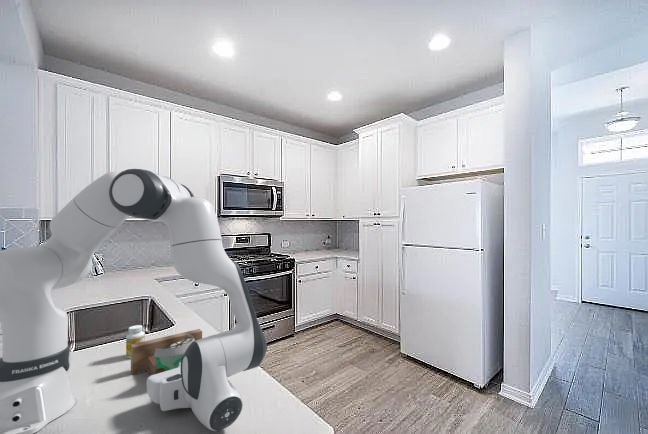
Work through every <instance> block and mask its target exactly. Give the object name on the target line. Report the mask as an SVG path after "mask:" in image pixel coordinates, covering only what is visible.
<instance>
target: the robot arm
mask: <svg viewBox="0 0 648 434" xmlns="http://www.w3.org/2000/svg"><path fill="white" fill-rule="evenodd" d="M129 217H132V218H136V219H142V220H146V221H150V222H160V223H161V222H162V223H163V224H165V226H166V227H167V229H168V233H169V241H170V253H171V257H172V258H171V259H172V263H173V264H172V265H173V267H174V269H175V271H176V272H177V273H178V274H179V275H180V277H183V278H185V279H186V280H188V281H190V282H194V283H198V284H203V285H204V284H205V285H210V286H214V287H218V288H219V289H222V290H223V291H224V292H225V293H226V295H227V297H228V299H229V302H230V305H231V309H232V312H233V315H234V318H235V322H236V326H235V327H234V328H232V329H230V330H226V331H222V332H220V333H217V334H213V335H210V336H209V335H208V336H205V337H202V339H199V340H196V341H193V342H192V343H191V344H190V345H189V346H188V348H187V349H186V351H185V353H184V355H183V357H182V360H181V363H178V368H174V369H171V370H168V371H164V372H161V373H158V374H155V375H149V376H148V377H147V378H146V383H145V384H146V385H145V386H146V393H147V395H148V397H149V398H150V400H151V401H152V402H153V403H154V404H159V407H160V410H161V412H162V411H163V412H167V411H171V410H177V409H178V410H179V409H187V408H188V409H190V408H191V410H192V413H193V415H194V416H195V417H196V419H197V420H198V421H199V422H200V423H201V424H202V425H203V426H204V427H205V428H207V430H210V431H213V432H221V431H222V430H224V429H227V428H229V427H230V426H231V425H232V424H234V423H235V422H236V420H237V419H238V418H239V416H240V415H241V413H242V410H243V399H242V397H241V395H240V393H239V392H238V390H237V389H236V388H235V387H234V385H233V384H232V383H231V382H230V380H228V378H229V377H232V376H234V375H237V374H239V373H241V372H246V371H248V370H252V369H256V368H258V367H259V366H260V365H261V363H263V361H264V358H265V356H266V355H267V354H266V353H267V350H268V344H267V343H268V341H267V339H266V336H265V333H264V331H263V329H262V327H261V324H260V323H259V321H258V317H257V314H256V311H255V308H254V305H253V302H252V298H251V296H250V292H249V288H248V285H247V283H246V280H245V277H244V274H243V271H242V270H241V267H240V265H239V264H238V263H237V262H236V261H234V260H232V259H231V258H230V257H229V256H228V254H227V252H226V251H225V249H224V245H223V241H222V240H223V239H222V233H221V228H220V224H219V220H218V217H217V213H216V211H215V208H214V205H213V204H212V202H210V201H209V200H207V199H206V198H203V197H199V196H198V197H197V196H195V195H194V193H193V192H192V190H190V188H188V187H187V185H184V184H183V183H180V182H178V181H177V180H174V179H173V178H170V177H168V176H164V175H160V174H157V173H154V172H152V171H151V170H146V169H141V168H129V169H125V170H122V171H109V172H107V173H104V174H103V175H102V176H100V177H98V178H96V179H95V180H93V181H92V182H91V183H90V184H88V185H87V186H85V187H84V188H83V189H82V190H80V192H78V193H77V194H76V195H75V196H74V197H73V198H72V199H71V200H70V201H69V202H67V204H65V206H64V207H63V208H61V210H59V211H58V212H57V213H56V214H55V215H54V217H52V218H51V220H50V221H49V230H50V232H51V234H52V235H51V236H50V237H49V239H48V240H47V241H45V242H44V243H42V244H40V245H37V246H29V247H27V246H26V247H16V248H6V249H1V250H0V326H1V338H2V339H1V341H2V348H1V349H2V353H1V354H2V357H1V356H0V434H35V433H37V432H39V431H41V429H43V428H44V427H45V426H47V424H48V423H51V422H52V421H54V420H56V419H58V418H59V417H61V416H62V415H64V414H65V413H67V412H68V411H69V410H70V409H71V408H72V407H74V405H75V403H76V398H75V395H74V393H73V389H72V386H71V385H72V384H71V380H70V373H69V369H70V366H71V356H72V355H71V354H72V353H71V346H70V344H69V342H68V341H69V315H68V313H67V312H66V311H65V310H64V309H61V308H59V307H56V305H55V303H54V300H53V299H52V294H51V291H54V290H58V289H61V288H65V287H70V286H71V285H74V284H75V283H78V282H79V281H81V280H83V279H85V278H86V277H87V276H88V275H89V274H90V273H91V271H92V268H93V259H92V258H93V256H94V255H95V253H96V251H97V250H98V249H99V247H100V246H102V244H104V242H105V241H106V240H107V239H108V238H109V237H110V236H112V234H113V233H115V231H116V230H118V228H119V227H121V226H122V225H123V223H124V222H125V221H126V220H127V219H128V218H129Z"/></svg>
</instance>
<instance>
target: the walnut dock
mask: <svg viewBox="0 0 648 434" xmlns="http://www.w3.org/2000/svg"><path fill="white" fill-rule="evenodd" d="M188 334H189V335H192V336H193V338H194V340H195V341H196V340H199V339H202V338H203V331H202V330H201V329H200V328H198V329H193V330H189V331H185V332H180V333H175V334H170V335H167V336H162V337H158V338H153V339H150V340H149V339H148V340H145V341H144V342H140V343H135V344H131V359H130V373H131V375H132V376H133V375H137V374H141V373H143V372H145V373H146V372H148V374H149V376H151V375H155V374H158V372H157V361H156V357H154V353H155V351H156V348H157V349H163V348H165V347H167V346H169V345H170V344H172V343H174V342H177V341H181V340H183V339H185V338H187V337H188Z"/></svg>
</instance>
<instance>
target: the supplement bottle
mask: <svg viewBox="0 0 648 434" xmlns="http://www.w3.org/2000/svg"><path fill="white" fill-rule="evenodd" d="M143 330H144V329H143V325H141V324H137V325H132V326H129V327H128V334H127V335H126V337H125V340H126V341H125V355H126V358H127V359H130V360H131V344H135V343H140V342H144V341H146V333H145V332H144V331H143Z"/></svg>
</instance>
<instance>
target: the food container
mask: <svg viewBox="0 0 648 434" xmlns="http://www.w3.org/2000/svg"><path fill="white" fill-rule="evenodd" d="M193 341H195V340H194V338H193V336H192V335H189V334H188V337H187V338H185V339H183V340H181V341H177V342H174V343H172V344H170V345H169V346H167V347H165V348H163V349H157V348H156V351H155V353H154V357H156V361H157V372H158V373H161V372H164V371H168V370H171V369H174V368H178V363H181V360H182V357H183V355H184V353H185V351H186V349H187V348H188V346H189V345H190V344H191V343H192V342H193Z"/></svg>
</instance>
